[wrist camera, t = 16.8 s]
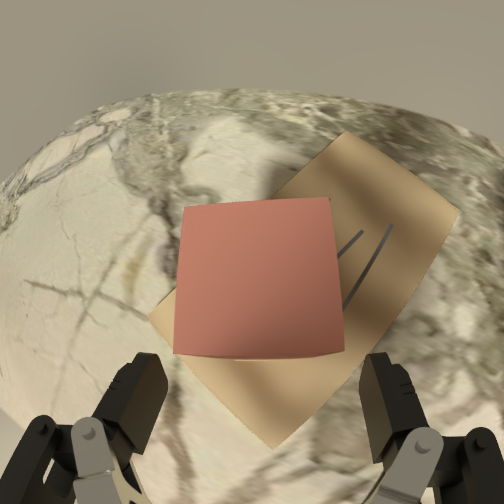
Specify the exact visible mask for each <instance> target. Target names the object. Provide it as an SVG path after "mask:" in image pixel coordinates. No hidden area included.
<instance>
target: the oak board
mask: <svg viewBox="0 0 504 504" xmlns="http://www.w3.org/2000/svg"><path fill="white" fill-rule="evenodd" d="M316 197H329V203H330V209H331V216H332V222H333V229H334V236H335V244H336V252H337V260H338V269H339V278H340V288H341V299H342V312H343V326H344V343H345V351H342V352H338V353H333V354H329V355H324V356H319V357H314V358H313V359H297V360H270V361H235V360H231V359H219V358H208V357H198V356H189V355H181V354H177V355H178V356H179V358H180V359H181V360H182V361H183V362H184V363H185V364H186V366H187V367H188V368H189V369H190V370H191V371H192V372H193V373H194V374H195V376H196V377H197V378H198V379H199V380H200V381H201V382H202V383H203V384H204V385H205V386H206V387H207V388H208V389H209V391H210V392H211V393H212V394H213V395H214V396H215V397H216V398H217V399H218V400H219V401H220V402H221V403H222V404H223V405H224V406H225V407H226V408H227V409H228V410H229V411H230V412H231V413H232V414H233V415H234V416H235V417H237V418H238V419H239V420H240V421H241V422H242V423H243V424H244V425H245V426H246V427H247V428H248V429H249V430H250V431H252V432H253V433H254V434H255V435H256V436H257V437H258V438H259V439H260V440H262V441H263V442H264V443H265V444H266V445H267V446H269V447H270V448H271V449H272V450H274V449H275V448H276V447H278V446H279V445H280V444H281V443H282V442H283V441H285V440H286V439H287V438H288V437H289V436H290V435H291V434H292V433H294V432H295V431H296V430H297V429H298V428H299V427H300V426H301V425H302V424H303V423H304V422H306V421H307V420H308V419H309V418H310V417H311V416H312V415H313V414H314V413H315V412H316V411H317V410H318V409H319V408H320V407H321V406H322V405H323V404H324V403H325V402H326V401H327V400H328V399H329V398H330V397H331V396H332V395H333V393H334V392H335V391H336V390H337V389H338V388H339V387H340V386H341V385H342V384H343V383H344V382H345V380H346V379H347V378H348V377H349V376H350V375H351V374H352V373H353V371H354V370H355V369H356V368H357V367H358V366H359V365H360V363H361V362H362V361H363V360H364V359H365V357H366V355H367V354H369V352H370V351H371V350H372V349H373V348H374V346H375V345H376V344H377V342H378V341H379V340H380V339H381V337H382V336H383V335H384V333H385V332H386V331H387V329H388V328H389V327H390V325H391V324H392V323H393V321H394V320H395V319H396V317H397V316H398V314H399V313H400V312H401V310H402V309H403V307H404V306H405V304H406V303H407V301H408V300H409V298H410V297H411V296H412V294H413V292H414V291H415V289H416V288H417V286H418V285H419V283H420V282H421V280H422V278H423V277H424V275H425V274H426V272H427V270H428V269H429V267H430V265H431V264H432V262H433V260H434V259H435V257H436V255H437V253H438V252H439V250H440V248H441V246H442V244H443V242H444V241H445V239H446V237H447V235H448V233H449V231H450V229H451V227H452V225H453V223H454V221H455V219H456V217H457V215H458V213H459V211H458V210H457V209H456V208H455V207H454V206H452V205H451V204H450V203H449V202H448V201H447V200H445V199H444V198H443V197H442V196H441V195H439V194H438V193H437V192H436V191H434V190H433V189H432V188H431V187H429V186H428V185H427V184H426V183H424V182H423V181H422V180H420V179H419V178H418V177H416V176H415V175H414V174H412V173H411V172H410V171H408V170H407V169H406V168H404V167H403V166H401V165H400V164H399V163H397V162H396V161H394V160H393V159H391V158H390V157H388V156H387V155H386V154H384V153H383V152H381V151H379V150H378V149H376V148H375V147H373V146H372V145H370V144H369V143H367V142H365V141H364V140H362V139H361V138H359V137H357V136H356V135H354V134H352V133H351V132H349V131H347V130H346V131H345V132H343V133H342V134H341V135H340V136H339V137H338V138H337V139H335V140H334V141H333V142H332V143H331V144H330V145H329V146H327V147H326V148H325V149H324V150H323V151H322V152H321V153H320V154H318V155H317V156H316V157H315V158H314V159H313V160H312V161H311V162H309V163H308V164H307V165H306V166H305V167H304V168H303V169H302V170H301V171H299V172H298V173H297V174H296V175H295V176H294V177H293V178H292V179H291V180H289V181H288V182H287V183H286V184H285V185H284V186H283V187H282V188H281V189H280V190H278V191H277V192H276V193H275V194H274V195H273V196H272V197H271V198H270V199H269V200H275V199H294V198H316ZM175 299H176V288H175V289H174V290H173V291H172V292H171V293H170V294H169V295H168V296H167V297H166V298H165V299H164V300H163V301H162V302H161V303H160V304H159V305H158V306H157V307H156V308H155V309H154V310H153V311H152V312H151V313H150V314H149V315H148V316H147V318H148V320H149V321H150V322H151V324H152V325H153V326H154V327H155V329H156V330H157V331H158V332H159V334H160V335H161V336H162V337H163V339H164V340H165V341H166V342H167V343H168V345H169V346H170V347H171V348H172V349H173V337H174V315H175Z"/></svg>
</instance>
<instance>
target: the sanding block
mask: <svg viewBox="0 0 504 504" xmlns="http://www.w3.org/2000/svg"><path fill="white" fill-rule="evenodd" d="M342 351H345V343H344V326H343V312H342V299H341V288H340V278H339V269H338V260H337V252H336V244H335V236H334V229H333V222H332V216H331V209H330V203H329V197H316V198H294V199H275V200H260V201H245V202H232V203H220V204H209V205H198V206H188V207H184V214H183V222H182V231H181V240H180V250H179V261H178V272H177V285H176V299H175V315H174V337H173V354H181V355H189V356H198V357H208V358H219V359H231V360H235V361H270V360H297V359H313V358H314V357H319V356H324V355H329V354H333V353H338V352H342Z"/></svg>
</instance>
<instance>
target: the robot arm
mask: <svg viewBox="0 0 504 504" xmlns="http://www.w3.org/2000/svg"><path fill="white" fill-rule="evenodd" d="M167 391H168V380H167V377H166V374H165V372H164V369H163V367H162V364H161V361H160V358H159V356H158V355H157V354H152V353H143V352H139V353H137V355H136V356H135V358H134V360H133V361H132V363H127V364H126V365H124V366H123V367H122V368H121V369H120V370H118V372H117V374H116V375H115V377H114V379H113V382H111V384H110V386H109V389H107V391H106V392H105V394H104V396H103V397H102V399H101V401H100V403H99V404H98V406H97V408H96V410H95V411H94V413H93V415H92V416H91V417H85V418H82V419H80V420H78V421H77V422H76V423H75V424H74V425H59V424H56V423H55V421H54V420H53V419H52V418H51V417H49V416H47V415H40V416H38V417H36V418H34V419H33V420H32V421H31V423H30V424H29V426H28V428H27V430H26V431H25V433H24V435H23V437H22V439H21V440H20V442H19V444H18V446H17V448H16V449H15V451H14V453H13V455H12V457H11V459H10V461H9V463H8V465H7V467H6V469H5V471H4V473H3V475H2V477H1V479H0V504H74V502H75V499H76V498H77V502H78V504H152V503H151V501H150V500H149V499H148V497H147V495H146V493H145V491H144V489H143V487H142V484H141V482H140V480H139V477H138V475H137V472H136V470H135V467H134V465H133V462H132V460H131V456H132V453H133V452H134V453H137V454H141V455H143V453H144V450H145V448H146V445H147V443H148V440H149V437H150V435H151V432H152V430H153V427H154V425H155V422H156V420H157V417H158V414H159V412H160V409H161V407H162V404H163V402H164V399H165V397H166V394H167ZM359 395H360V399H361V404H362V408H363V413H364V418H365V422H366V427H367V432H368V437H369V442H370V448H371V453H372V459H373V464H375V463H381V462H383V467H384V470H383V471H382V473H381V475H380V476H379V478H378V479H377V481H376V482H375V484H374V486H373V487H372V489H371V490H370V492H369V493H368V495H367V496H366V497H365V499H364V500H363V502H362V503H361V504H422V503H421V502H420V500H421V497H422V495H423V493H424V491H425V489H426V487H433V492H434V498H435V504H504V460H503V457H502V454H501V451H500V448H499V445H498V443H497V440H496V437H495V435H494V434H493V432H492V431H491V430H489V429H487V428H484V427H477V428H474V429H472V430H471V431H470V432H469V433H468V434H467V435H466V436H460V437H446V436H441V435H440V433H439V432H438V431H436V430H435V429H432V428H430V427H429V425H428V423H427V420H426V417H425V415H424V412H423V409H422V407H421V404H420V402H419V399H418V396H417V394H416V393H415V389H414V386H413V385H412V382H411V379H410V377H409V374H408V372H407V371H406V370H405V369H404V368H403V367H402V366H401V365H400V364H391V362H390V359H389V357H388V354H387V353H386V352H382V353H373V354H367V355H366V357H365V361H364V365H363V369H362V373H361V377H360V381H359ZM51 458H52V459H53V460H54V461H55V462H54V464H53V466H52V468H51V470H50V473H49V475H48V477H47V479H46V481H45V484H44V483H43V476H44V474H45V471H46V469H47V467H48V465H49V463H50V461H51Z"/></svg>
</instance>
